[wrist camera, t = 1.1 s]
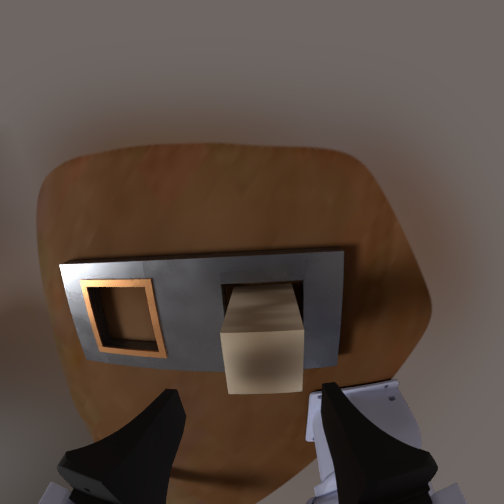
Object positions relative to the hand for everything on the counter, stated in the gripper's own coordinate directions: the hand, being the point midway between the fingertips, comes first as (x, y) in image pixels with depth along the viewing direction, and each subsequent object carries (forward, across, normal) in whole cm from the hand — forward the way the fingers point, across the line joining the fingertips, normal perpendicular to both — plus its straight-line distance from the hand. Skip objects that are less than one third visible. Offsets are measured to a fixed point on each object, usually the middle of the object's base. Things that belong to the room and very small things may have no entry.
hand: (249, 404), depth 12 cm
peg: (+10, -1, 0) cm, 10 cm away
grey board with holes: (+10, +5, 0) cm, 12 cm away
